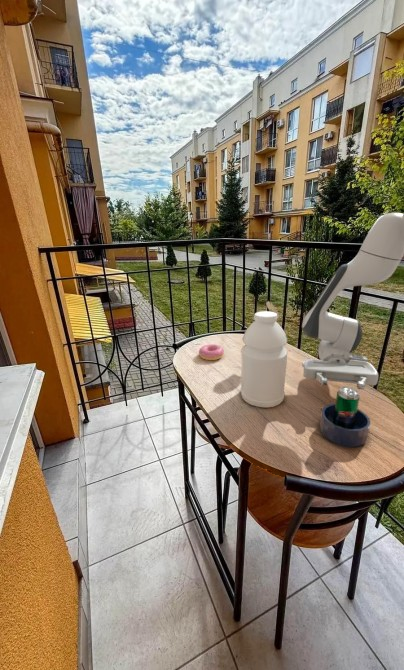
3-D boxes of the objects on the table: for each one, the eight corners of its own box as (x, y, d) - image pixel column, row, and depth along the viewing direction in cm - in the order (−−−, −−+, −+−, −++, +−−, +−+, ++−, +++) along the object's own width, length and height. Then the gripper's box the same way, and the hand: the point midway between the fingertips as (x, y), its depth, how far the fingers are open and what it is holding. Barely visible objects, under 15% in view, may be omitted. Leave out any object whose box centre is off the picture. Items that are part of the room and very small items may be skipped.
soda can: (333, 435, 73) (339, 395, 68) (330, 422, 77) (335, 384, 73) (355, 437, 71) (362, 397, 67) (350, 425, 76) (357, 386, 72)
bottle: (289, 391, 94) (295, 310, 84) (277, 413, 83) (283, 323, 73) (249, 381, 101) (251, 305, 91) (233, 401, 90) (233, 317, 80)
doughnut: (220, 362, 116) (220, 353, 114) (195, 360, 119) (194, 351, 118) (226, 352, 125) (226, 343, 124) (203, 350, 129) (202, 341, 127)
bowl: (355, 418, 79) (358, 403, 77) (375, 447, 69) (379, 431, 67) (314, 418, 80) (316, 403, 78) (328, 446, 70) (330, 430, 68)
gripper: (302, 351, 92) (304, 371, 80) (372, 357, 87) (385, 379, 74) (300, 369, 95) (302, 390, 82) (368, 375, 89) (381, 399, 76)
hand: (342, 385), depth 78 cm, fingers open, 8 cm apart
